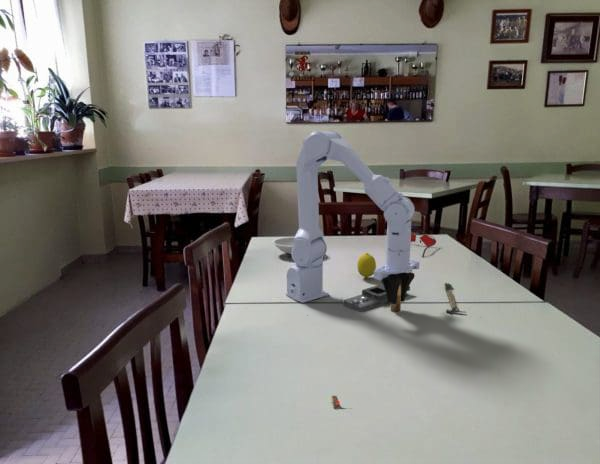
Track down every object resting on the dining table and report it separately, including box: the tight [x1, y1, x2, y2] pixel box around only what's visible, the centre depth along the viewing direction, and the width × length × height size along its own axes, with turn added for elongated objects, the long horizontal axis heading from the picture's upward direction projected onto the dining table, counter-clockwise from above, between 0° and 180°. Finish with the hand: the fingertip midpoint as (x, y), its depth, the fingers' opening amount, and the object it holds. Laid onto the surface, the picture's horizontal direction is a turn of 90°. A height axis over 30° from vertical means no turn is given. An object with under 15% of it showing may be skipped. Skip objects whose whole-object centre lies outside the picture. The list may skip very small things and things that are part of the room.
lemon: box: [356, 252, 377, 279], centre depth 136 cm, size 6×6×8 cm
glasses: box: [411, 232, 437, 258], centre depth 168 cm, size 14×16×5 cm
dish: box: [271, 236, 295, 254], centre depth 162 cm, size 18×14×5 cm
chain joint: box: [343, 283, 411, 312], centre depth 120 cm, size 19×6×3 cm, turn 127°
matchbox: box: [330, 394, 352, 410], centre depth 76 cm, size 5×5×1 cm
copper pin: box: [390, 281, 402, 313], centre depth 112 cm, size 2×2×8 cm
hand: (395, 301), depth 112 cm, fingers closed on copper pin, 2 cm apart
